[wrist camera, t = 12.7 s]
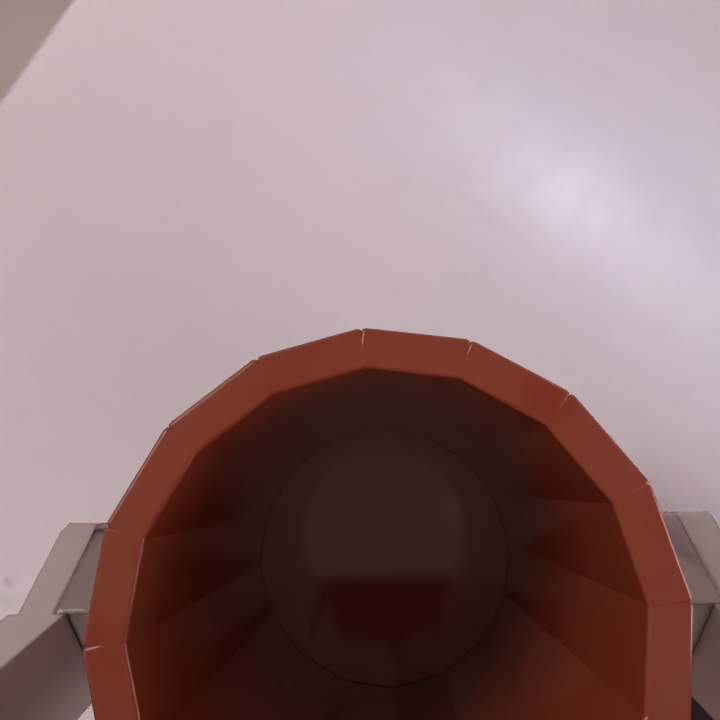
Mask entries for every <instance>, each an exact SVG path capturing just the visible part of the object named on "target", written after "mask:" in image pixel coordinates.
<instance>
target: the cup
mask: <svg viewBox="0 0 720 720" xmlns="http://www.w3.org/2000/svg"><path fill="white" fill-rule="evenodd" d="M648 483H649V482H648V480H647V479H646V477H645V476H644V475H643V474H642V473H641V472H640V471H639V469H638V468H637V467H636V466H635V465H634V464H633V462H632V461H631V460H630V459H629V458H628V457H627V456H626V454H625V453H624V452H623V451H622V450H621V449H620V448H619V446H618V445H617V444H616V443H615V442H614V441H613V439H612V438H611V437H610V436H609V435H608V434H607V433H606V431H605V430H604V429H603V428H602V427H601V426H600V425H599V423H598V422H597V421H596V420H595V419H594V418H593V416H592V415H591V414H590V413H589V412H588V411H587V410H586V408H585V407H584V406H583V405H582V404H581V403H580V402H579V400H578V399H577V398H576V397H575V396H574V395H572V394H571V395H569V392H568V391H567V390H565V389H563V388H562V387H560V386H558V385H556V384H554V383H552V382H550V381H548V380H546V379H545V378H543V377H541V376H539V375H537V374H535V373H533V372H531V371H529V370H527V369H526V368H524V367H522V366H520V365H518V364H516V363H514V362H512V361H510V360H508V359H507V358H505V357H503V356H501V355H499V354H497V353H495V352H493V351H491V350H490V349H488V348H486V347H484V346H482V345H480V344H478V343H476V342H470V341H469V340H467V339H462V338H452V337H443V336H434V335H425V334H415V333H406V332H397V331H388V330H379V329H369V328H365V329H362V331H361V330H359V329H355V330H352V331H348V332H344V333H341V334H337V335H334V336H330V337H327V338H323V339H320V340H316V341H312V342H309V343H305V344H302V345H298V346H295V347H291V348H287V349H284V350H280V351H277V352H273V353H270V354H266V355H263V356H260V357H259V358H258V360H252V361H250V362H249V363H248V364H247V365H245V366H244V367H243V368H241V369H240V370H239V371H237V372H236V373H235V374H233V375H232V376H231V377H229V378H228V379H227V380H226V381H224V382H223V383H222V384H220V385H219V386H218V387H216V388H215V389H214V390H212V391H211V392H210V393H208V394H207V395H206V396H205V397H203V398H202V399H201V400H199V401H198V402H197V403H195V404H194V405H193V406H191V407H190V408H189V409H187V410H186V411H185V412H184V413H182V414H181V415H180V416H178V417H177V418H176V419H174V420H173V421H172V422H171V423H170V424H169V428H166V429H164V430H163V432H162V434H161V435H160V437H159V439H158V440H157V442H156V444H155V445H154V447H153V448H152V450H151V452H150V453H149V455H148V457H147V458H146V460H145V461H144V463H143V465H142V466H141V468H140V470H139V471H138V473H137V474H136V476H135V478H134V479H133V481H132V483H131V484H130V486H129V488H128V489H127V491H126V492H125V494H124V496H123V497H122V499H121V501H120V502H119V504H118V505H117V507H116V509H115V510H114V512H113V514H112V515H111V517H110V518H109V520H108V523H107V525H108V526H109V527H106V529H105V530H104V535H103V540H102V545H101V550H100V556H99V561H98V566H97V571H96V577H95V582H94V587H93V592H92V598H91V603H90V608H89V613H88V619H87V624H86V629H85V634H84V640H83V645H84V646H86V647H85V648H84V649H83V655H84V661H85V667H86V672H87V678H88V683H89V689H90V695H91V700H92V706H93V711H94V717H95V720H691V698H692V648H693V605H692V603H691V602H690V601H691V600H692V596H691V593H690V591H689V588H688V585H687V582H686V580H685V577H684V574H683V572H682V569H681V566H680V563H679V561H678V558H677V555H676V552H675V550H674V547H673V544H672V541H671V539H670V536H669V533H668V531H667V528H666V525H665V522H664V520H663V517H662V514H661V511H660V509H659V506H658V503H657V500H656V498H655V495H654V492H653V490H652V487H651V486H650V485H648Z"/></svg>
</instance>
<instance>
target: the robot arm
mask: <svg viewBox="0 0 720 720" xmlns="http://www.w3.org/2000/svg"><path fill="white" fill-rule="evenodd" d="M661 514H662V517H663V520H664V522H665V525H666V528H667V531H668V533H669V536H670V539H671V541H672V544H673V547H674V550H675V552H676V555H677V558H678V561H679V563H680V566H681V569H682V572H683V574H684V577H685V580H686V582H687V585H688V588H689V591H690V593H691V596H692V600H691V601H690V602H691V603H692V605H693V648H692V697H693V698H694V699H695V700H696V701H697V702H698V703H699V704H700V705H701V707H702V708H703V709H704V710H705V711H706V712H707V713H708V714H709V715H710V716H711V717H712V718H713V719H714V720H720V528H719V526H718V525H717V523H716V521H715V520H714V518H713V516H711V515H710V514H709V513H707V512H706V511H700V512H671V513H669V512H661ZM106 527H109V526H108V525H107V523H69V524H68V525H67V526H66V527H65V528H64V529H63V530H62V531H61V532H60V534H59V536H58V538H57V540H56V542H55V544H54V546H53V548H52V549H51V551H50V553H49V555H48V557H47V559H46V561H45V563H44V565H43V567H42V569H41V571H40V573H39V575H38V577H37V578H36V580H35V582H34V584H33V586H32V588H31V590H30V592H29V594H28V596H27V598H26V600H25V602H24V604H23V606H22V607H21V609H20V611H19V613H18V614H15V615H7V616H6V617H5V618H3V619H2V620H1V621H0V720H77V719H78V718H79V717H80V716H81V715H82V713H83V712H84V711H85V710H86V709H87V708H88V706H89V705H90V704H91V703H92V700H91V695H90V689H89V683H88V678H87V672H86V667H85V661H84V655H83V649H84V648H85V647H86V646H84V645H83V640H84V634H85V629H86V624H87V619H88V613H89V608H90V603H91V598H92V592H93V587H94V582H95V577H96V571H97V566H98V561H99V556H100V550H101V545H102V540H103V535H104V530H105V529H106Z"/></svg>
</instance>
